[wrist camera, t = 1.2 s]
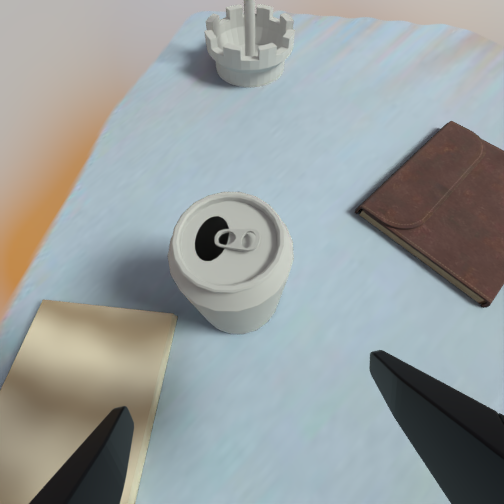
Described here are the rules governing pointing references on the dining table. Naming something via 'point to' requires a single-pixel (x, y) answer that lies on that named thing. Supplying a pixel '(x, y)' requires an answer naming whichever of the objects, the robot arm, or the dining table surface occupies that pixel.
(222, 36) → the flag stand
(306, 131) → the dining table surface
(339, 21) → the dining table surface
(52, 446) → the board
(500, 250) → the notebook
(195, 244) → the can
